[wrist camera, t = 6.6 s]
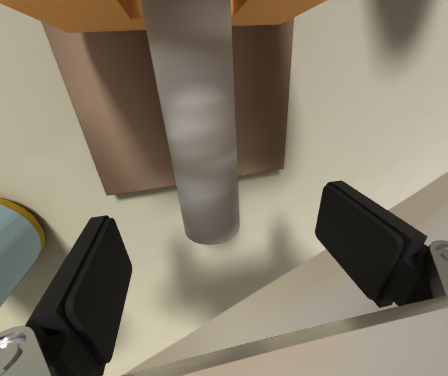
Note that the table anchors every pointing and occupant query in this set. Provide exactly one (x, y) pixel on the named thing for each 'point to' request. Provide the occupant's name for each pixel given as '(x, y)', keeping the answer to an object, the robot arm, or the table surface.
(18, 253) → the bottle
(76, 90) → the pipe stand
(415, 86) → the table surface
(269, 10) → the collar
